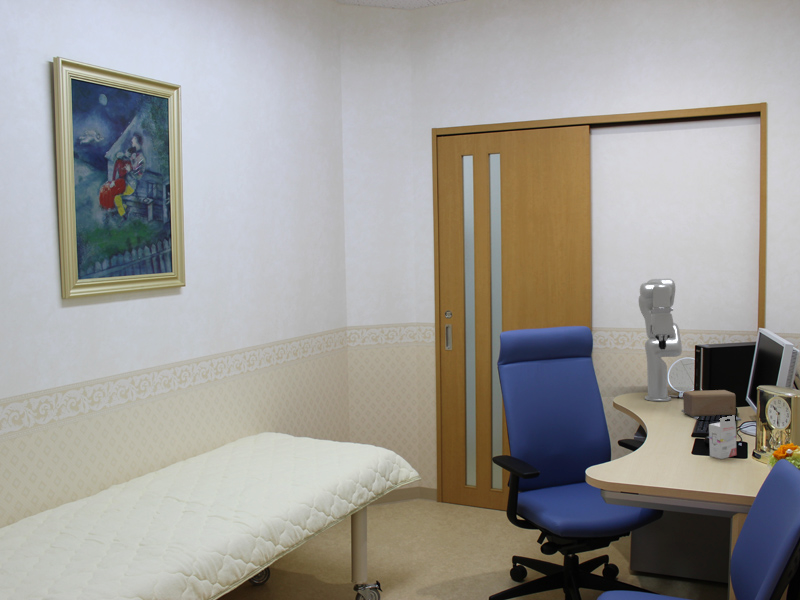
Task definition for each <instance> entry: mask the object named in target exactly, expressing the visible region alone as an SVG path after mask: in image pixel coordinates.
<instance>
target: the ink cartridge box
mask: <svg viewBox="0 0 800 600" xmlns="http://www.w3.org/2000/svg"><path fill="white" fill-rule="evenodd" d="M735 416H736V415H732V416H727V417H722V418H720V419H719V420H720V421H718V422H715V423H710V424H708V437H709V438H708V439H709V442H708V443H709V457H710V458H711V457H712V458H716V459H719V460H723V459H724V460H725V459H728V458H731V457H734V456H737V426H736V425H737V424H736V421H735ZM727 419H730V421H725V420H727Z"/></svg>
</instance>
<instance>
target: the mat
mask: <svg viewBox="0 0 800 600" xmlns="http://www.w3.org/2000/svg"><path fill="white" fill-rule="evenodd" d="M681 412H683V414H684V413H685V412H684V409H681ZM685 414H686V415H688V416H689V417H691V418H693V419H694V420H696V421H698V420H697V419H698V418H699V416H691V415H689V414H687V413H685ZM736 420H737V421H742V418H740V417H738V416H736Z"/></svg>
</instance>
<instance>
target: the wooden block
mask: <svg viewBox="0 0 800 600" xmlns="http://www.w3.org/2000/svg"><path fill="white" fill-rule="evenodd" d="M682 395H683V410H684V412H685V414H686V413H687V414H686V415H688V414H689V415H691V416H716V415H734V416H736V415H737V414H736V413H737V409H736V408H737V402H736V401H737V400H736V397H737V396H736V394H735V393H734V392H731V391H730V390H729V391H728V390H726V389H718V390H717V389H715V390H710V389H709V390H686V391H683V394H682ZM684 412H683V413H684ZM689 415H688V416H689ZM691 416H690V417H691Z"/></svg>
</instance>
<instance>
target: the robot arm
mask: <svg viewBox="0 0 800 600" xmlns="http://www.w3.org/2000/svg"><path fill="white" fill-rule="evenodd" d="M639 293H640V294H639V296H638V306H639V311H640V313H641V314H642V317H643V319H644V323H645V324H644V325H645V330H646V336H647V338H648V339H647V340H646V341H645V343H644V350H645V355H646V364H647V365H646V368H647V369H646V373H647V395H645V396H644V400H646V401H650V402H669V401H671V400H672V397H671V396H669V395H668V365H667V363H666V362H665V360H664V359H662V358H668V357H670V358H671V357H672V358H674V357H679V356H681V354H682V353H683V352H682V350H683V346H682V340H681V333H680V328H679V325H678V324H677V323H675V322H674V320H673V314H672V313H671V312H673V311H674V308H673V305H674V302H675V295H676V283H675V280H673V279H671V278H652V279H649V280H648V281H647V282H643V283H642V284H640V288H639Z"/></svg>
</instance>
